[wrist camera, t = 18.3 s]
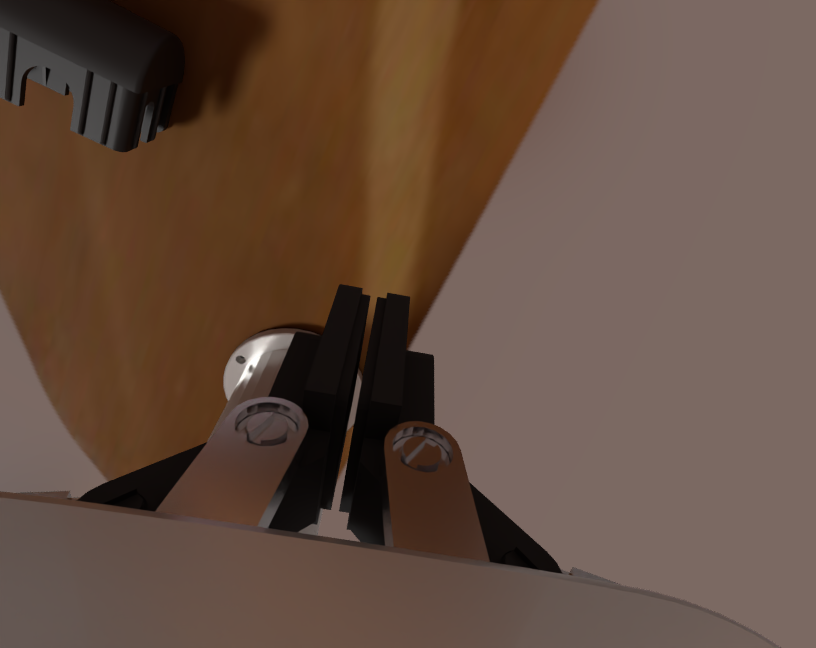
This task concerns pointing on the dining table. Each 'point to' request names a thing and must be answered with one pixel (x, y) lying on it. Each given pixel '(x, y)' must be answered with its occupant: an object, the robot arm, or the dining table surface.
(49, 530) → the robot arm
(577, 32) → the dining table surface
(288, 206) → the dining table surface
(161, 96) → the end cap
